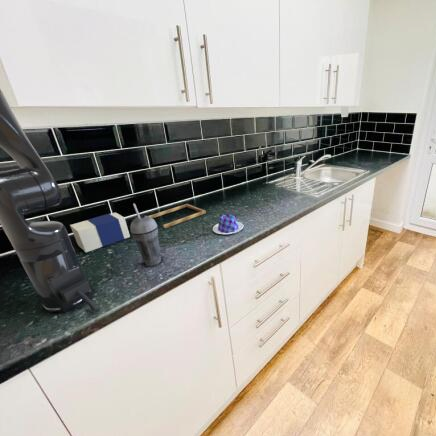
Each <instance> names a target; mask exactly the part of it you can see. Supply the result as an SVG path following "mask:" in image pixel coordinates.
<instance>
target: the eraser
mask: <svg viewBox="0 0 436 436" xmlns="http://www.w3.org/2000/svg"><path fill="white" fill-rule="evenodd" d="M69 226H70V229H71V231H72V234H73V237H74V239H75V241H76V244H77V246H78V247H79V248H80V249H82V250H83V252H85V253H88V252H91V251H95V250H97V249H100V248H103V247H106V246H109V245H111V244H114V243H118V242H120V241H123V240H125V239H128V238H130V237H131V235H130V232H129V231H130V230H129V229H128V225H127V221H126V218H125V217H124V216H122V215H121V214H119V213H117V212H111V213H107V214H103V215H99V216H96V217H92V218H89V219H87V220H83V221H79V222H76V223H73V224H69Z"/></svg>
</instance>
